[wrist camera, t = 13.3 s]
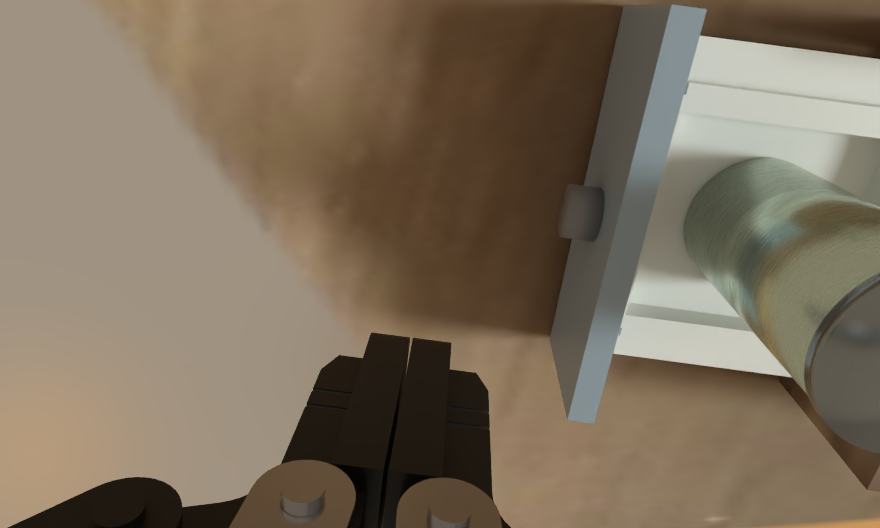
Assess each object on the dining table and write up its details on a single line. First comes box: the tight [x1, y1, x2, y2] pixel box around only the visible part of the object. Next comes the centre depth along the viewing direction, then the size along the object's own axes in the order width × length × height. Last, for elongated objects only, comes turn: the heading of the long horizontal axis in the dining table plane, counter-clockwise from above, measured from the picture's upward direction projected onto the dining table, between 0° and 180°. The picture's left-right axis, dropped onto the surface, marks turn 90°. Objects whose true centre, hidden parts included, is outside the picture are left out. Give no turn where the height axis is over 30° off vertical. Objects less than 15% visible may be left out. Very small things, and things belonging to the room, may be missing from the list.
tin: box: [684, 158, 880, 453], centre depth 19 cm, size 5×5×10 cm
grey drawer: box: [550, 4, 880, 423], centre depth 23 cm, size 14×13×6 cm
